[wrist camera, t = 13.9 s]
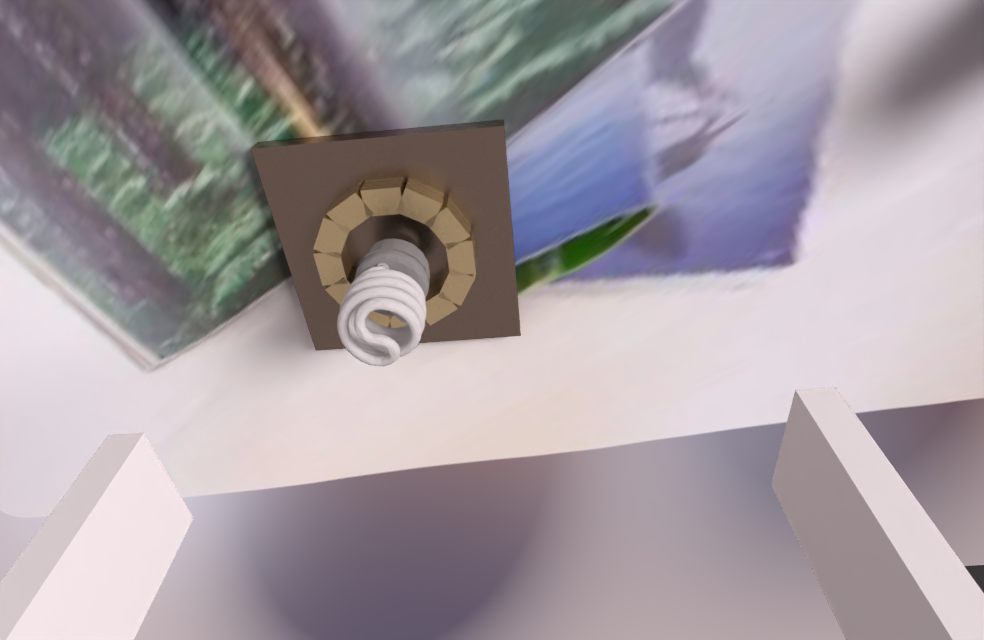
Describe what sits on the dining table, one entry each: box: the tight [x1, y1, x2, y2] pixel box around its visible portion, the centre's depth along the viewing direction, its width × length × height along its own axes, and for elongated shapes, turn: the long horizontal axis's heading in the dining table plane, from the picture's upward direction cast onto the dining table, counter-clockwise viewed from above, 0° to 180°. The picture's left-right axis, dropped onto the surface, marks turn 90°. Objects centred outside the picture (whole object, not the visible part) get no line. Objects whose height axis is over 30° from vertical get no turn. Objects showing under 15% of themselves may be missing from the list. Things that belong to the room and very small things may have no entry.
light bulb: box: [337, 238, 430, 366], centre depth 42 cm, size 6×6×12 cm
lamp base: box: [251, 120, 521, 350], centre depth 47 cm, size 18×18×4 cm
